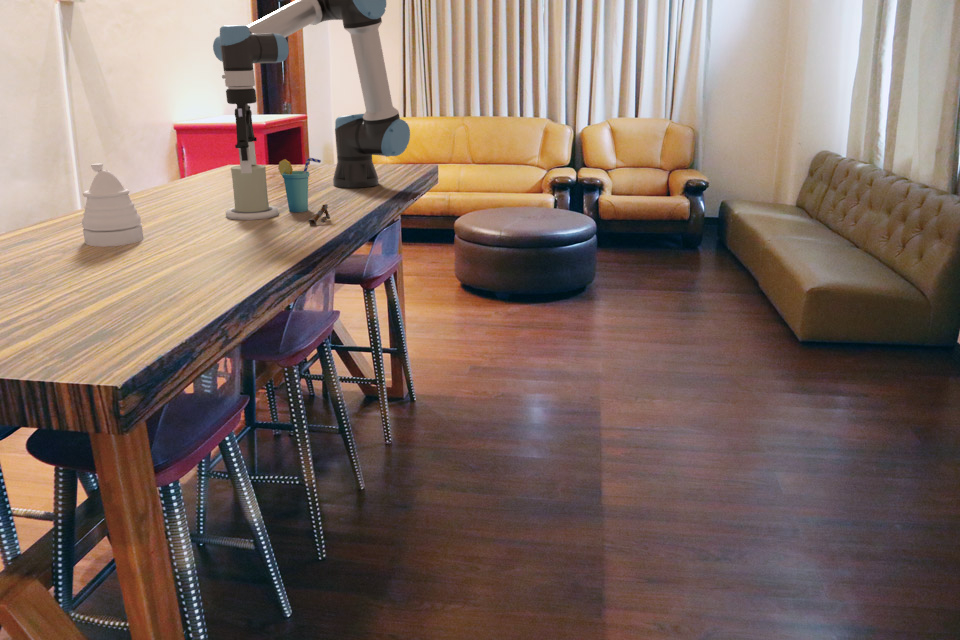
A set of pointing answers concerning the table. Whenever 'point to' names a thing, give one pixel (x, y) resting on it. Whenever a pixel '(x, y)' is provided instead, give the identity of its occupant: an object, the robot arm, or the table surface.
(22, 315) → the table surface
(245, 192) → the can
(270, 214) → the white and grey plate
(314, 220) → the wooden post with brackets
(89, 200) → the honey pot
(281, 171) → the cup
